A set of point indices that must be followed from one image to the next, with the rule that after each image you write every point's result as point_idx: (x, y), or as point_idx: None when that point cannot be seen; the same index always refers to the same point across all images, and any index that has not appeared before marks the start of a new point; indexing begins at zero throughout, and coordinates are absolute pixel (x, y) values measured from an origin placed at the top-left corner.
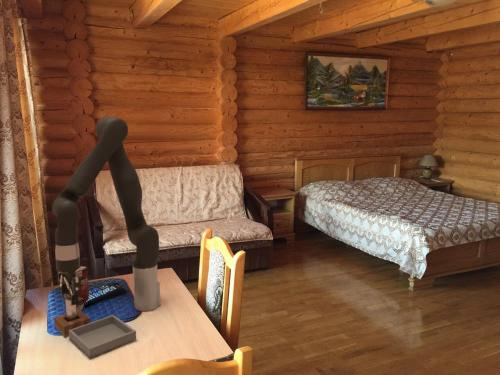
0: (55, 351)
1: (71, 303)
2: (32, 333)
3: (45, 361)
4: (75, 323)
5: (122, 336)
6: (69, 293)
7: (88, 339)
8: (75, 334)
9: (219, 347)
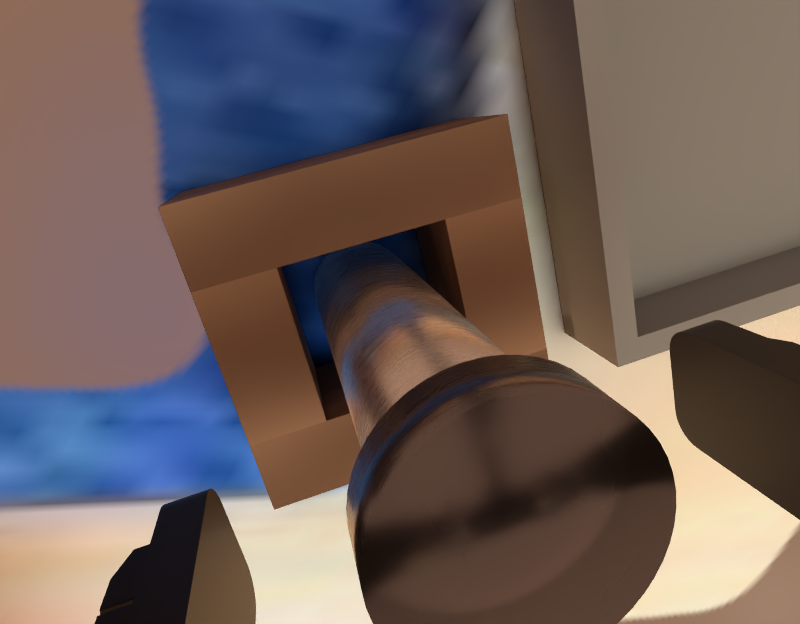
0: (666, 431)
1: (702, 448)
2: (287, 600)
3: (742, 486)
4: (535, 294)
5: None
6: (530, 561)
7: (701, 186)
8: (732, 312)
9: None
